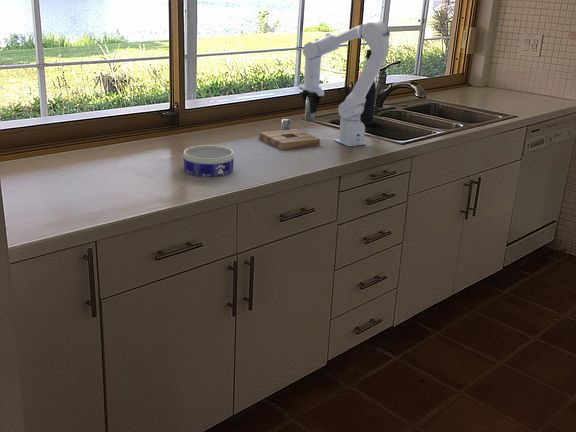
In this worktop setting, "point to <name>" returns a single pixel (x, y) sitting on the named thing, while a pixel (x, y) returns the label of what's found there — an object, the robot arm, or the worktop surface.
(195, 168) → the dog bowl
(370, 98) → the wine bottle
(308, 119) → the long pin
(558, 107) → the worktop surface
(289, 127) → the short pin
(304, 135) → the hole plate
